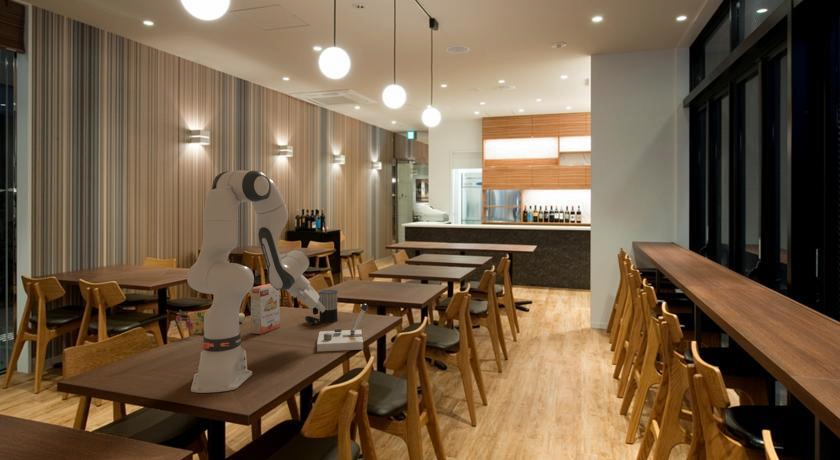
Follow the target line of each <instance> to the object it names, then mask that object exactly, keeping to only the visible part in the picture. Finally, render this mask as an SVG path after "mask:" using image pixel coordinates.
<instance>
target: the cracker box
mask: <svg viewBox="0 0 840 460" xmlns="http://www.w3.org/2000/svg"><path fill="white" fill-rule="evenodd" d="M280 317H281V315H280V290H278V289H276V288H274V287H273V286H272V285H271V284H270V283H266V284H263V285H258V286H253V287H252V289H251V290H250V330H251V334H255V335H263V334H265V333H269V332H271V331H274V330H277V329H279V328H281V327H280V326H281V323H280Z"/></svg>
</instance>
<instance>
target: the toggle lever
mask: <svg viewBox="0 0 840 460" xmlns="http://www.w3.org/2000/svg"><path fill="white" fill-rule="evenodd" d="M360 309H361V310H360V312H359V313H358V316H357V318H356V320H355V323H353V326H352V328H351V329H350V330H351V331H350V334H351V335H354V334H355V330H357V329H358V326H359V324H360V322H361V321H362V318H363V316H364V314H365V312H367V311H368V309H369V305H368V304H367V303H363V304H362V305H361V306H360Z"/></svg>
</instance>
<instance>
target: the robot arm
mask: <svg viewBox="0 0 840 460" xmlns="http://www.w3.org/2000/svg"><path fill="white" fill-rule="evenodd" d="M204 201H205V202H204V209H203V227H202V245H201V249H200V251H199V253H198V254H199V255H198V257H197V258H196V261H195V262H194V263H193V264H192V265H191V267H189V269H188V270H187V275H186V280H187V284H188V285H189V287H190V288H191V289H193V290H195V291H197V292H199V293H202V294H207V295H209V294H210V295H213V300H212V304H211V306H210V307H209V308H208V309H207V310H205V312H204V315H203V316H204V322H203V330H204V333H203V334H204V336H203V339H202V345H201V346H202V349H203V350H201V352H200V358H199V365H198V366H197V368H196V369H197V373H195V374H194V375H193V380H192V383H191V387H190V392H192V393H198V394H199V393H201V394H205V393H208V394H210V393H221V392H229V391H233V390H236V389H238V388H239V387H240V386H241V385H242V384H243V383H244V382H246V381H247V379H249V378H250V377H251V376H252V375H253V371H252V370H249V369H248V363H247V361H248V360H247V351H246V350H245V349H244V348H243V347H242V346H241V344H242V335H241V334H242V333H240V323H239V313H240V310H241V307H242V306H241V305H242V303H243V300H244V298H245V297H246V295H247V294H249V292H251V289H252V288H253V287H254V282H255V277H254V273H253V271H252V269H251V268H250V267H248V266H245V265H242V264H240V263H235V262H234V263H233V262H228V261H229V260H228V259H229V255H230V254H231V252H232V250H234V249H235V248H236V247H237V246H238V244H239V206H240V205H241V203H249V202H250V203H252V206H253V209H254V211H255V214H256V216H257V220H258V234H257V235H258V241H259V245H260V247H261V252H262V255H263V260H264V262H265V265H266V270H267V278H268V281H269V284H271V285H272V286H273V287H274V288H276V289H278V290H279V291H287V292H288V293H289V294H290V295H291V296H292V297H293V298H294V299H296V298H299V300H301V302H302V303H303V304H304V305H306V307H307V308H308V309H309V310H312V311H313V308H314V307H316V308H317V309H318V311H319V312H320V311H321V312H324V311H325V307H324V306H323V305H322V304H321V303H320V296H319V294H318V293H319V292H317V290H316V289H315V288H314V287H313V286H312V285H311V281H310V280H308V279H307V278H306V277H305V276H304V273H305V271H307V270H308V268H309V267H310V258H309V257H308V255H307V254H306V253H305V252H304V251H302V250H300V249H293V250H291V251H288V252H286V253H283V254H280V253H281V252H280V250H279V246H278V245H279V239H280V236H281V234H282V232H283V230H284V228H285V226H286V225H287V223H288V220H289V211H288V207H287V205H286V201H285V200H284V197H283V195H282V193H281V191H280V189H279V188H278V186H277V184H276V183H275V182H274V181H273V180H272V179H271V178H270V177H269V178H268V176H267V175H266V174H265V173H264V172H261V171H259V170H242V169H239V170H232V171H228V170H227V171H223V172H221V173H219V174H217V175H216V176H215V177H214V179H213V182H212V186H211V190H209V191H208V193H207V194H206V198H205V200H204Z"/></svg>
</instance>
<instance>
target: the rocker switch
mask: <svg viewBox="0 0 840 460" xmlns="http://www.w3.org/2000/svg"><path fill="white" fill-rule="evenodd" d="M341 330H342V328H334V330H333V331H335V332H341Z"/></svg>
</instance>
